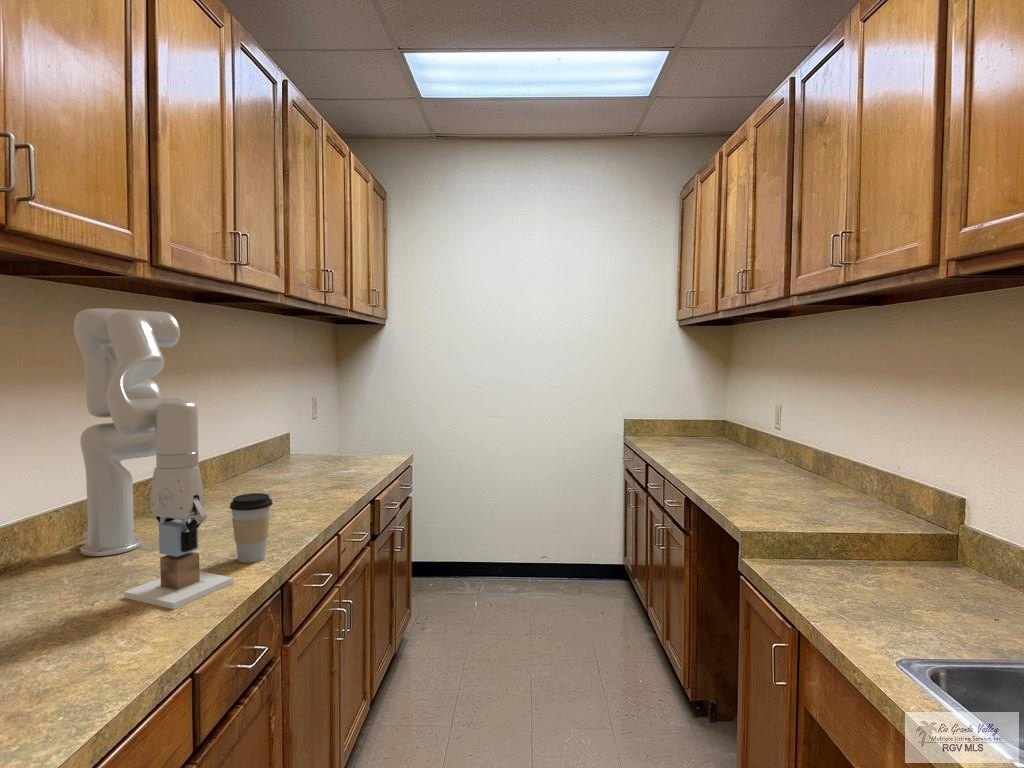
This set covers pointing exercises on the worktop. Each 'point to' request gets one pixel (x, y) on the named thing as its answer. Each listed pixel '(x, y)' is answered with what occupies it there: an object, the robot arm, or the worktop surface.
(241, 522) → the coffee cup
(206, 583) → the plate
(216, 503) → the worktop surface
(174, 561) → the block walnut
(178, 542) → the block blue
